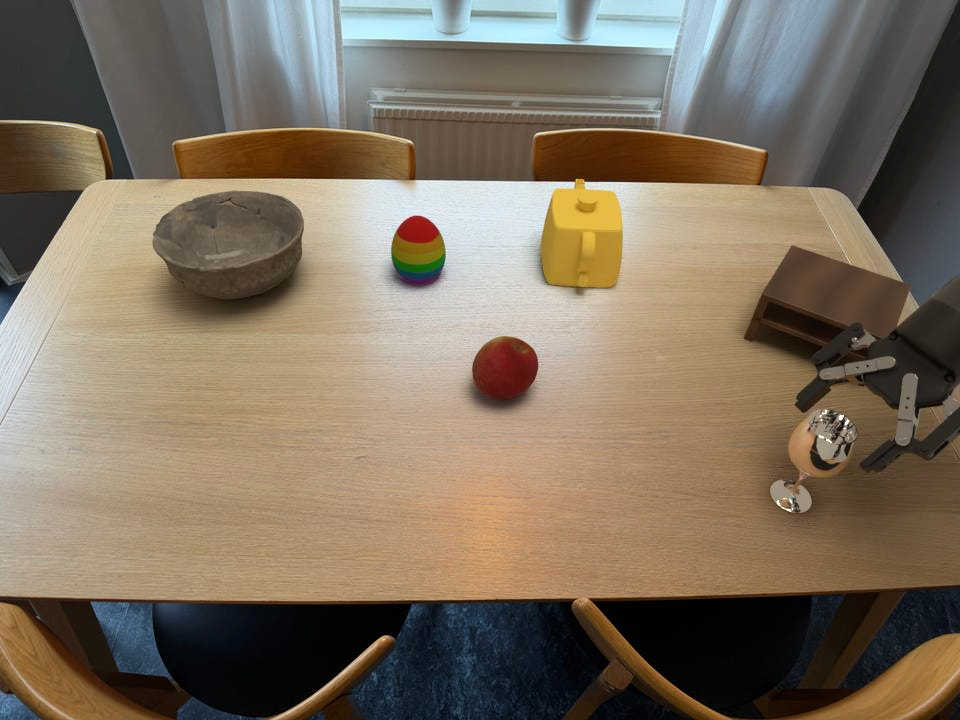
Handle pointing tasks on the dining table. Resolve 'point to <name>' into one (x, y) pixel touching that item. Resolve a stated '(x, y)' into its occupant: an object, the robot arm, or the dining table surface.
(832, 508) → the dining table surface
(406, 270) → the decorative egg
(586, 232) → the teapot
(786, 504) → the wineglass
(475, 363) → the apple
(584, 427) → the dining table surface
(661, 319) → the dining table surface
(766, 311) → the shelf
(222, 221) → the bowl
